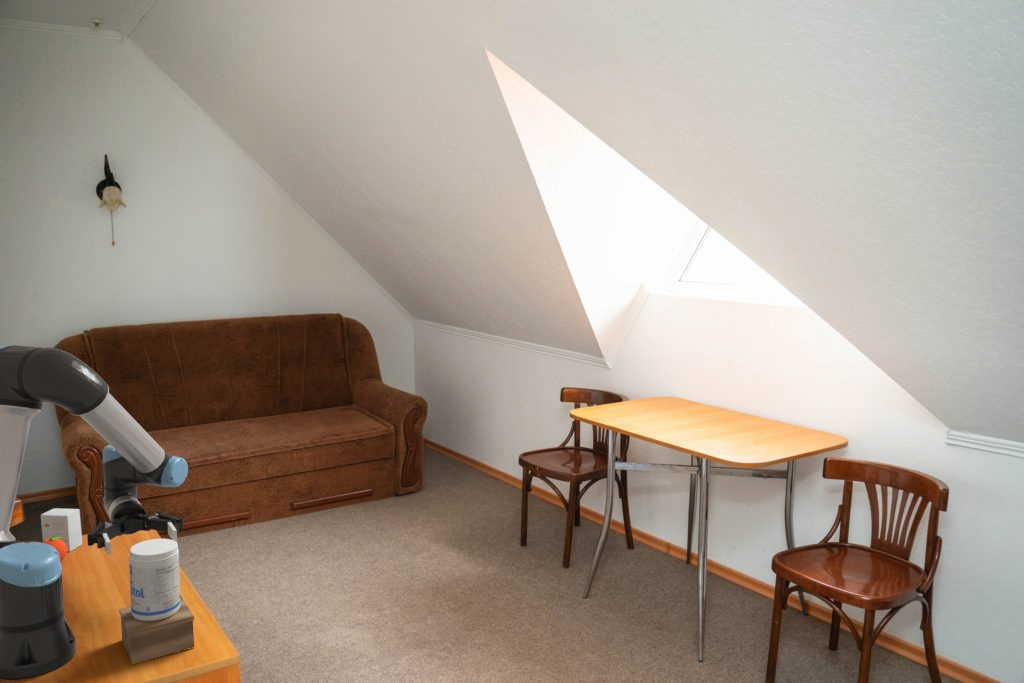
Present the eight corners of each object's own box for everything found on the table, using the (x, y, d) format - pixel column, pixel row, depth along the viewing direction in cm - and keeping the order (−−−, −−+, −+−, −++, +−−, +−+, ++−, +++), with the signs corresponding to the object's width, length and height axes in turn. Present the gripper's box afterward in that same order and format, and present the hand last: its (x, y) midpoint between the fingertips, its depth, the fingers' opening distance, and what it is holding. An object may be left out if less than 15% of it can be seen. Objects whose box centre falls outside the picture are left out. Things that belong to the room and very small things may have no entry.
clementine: (62, 555, 216) (61, 530, 215) (77, 560, 212) (75, 535, 211) (32, 565, 209) (30, 539, 208) (46, 571, 206) (45, 545, 205)
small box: (82, 544, 224) (80, 508, 222) (70, 552, 218) (67, 515, 217) (56, 543, 224) (53, 507, 223) (42, 551, 219) (40, 514, 218)
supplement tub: (121, 616, 166) (117, 549, 165) (160, 598, 175) (157, 534, 173) (152, 627, 162) (149, 558, 160) (191, 608, 170) (187, 542, 168)
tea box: (195, 647, 168) (193, 616, 167) (131, 665, 160) (129, 632, 160) (181, 624, 178) (180, 594, 177) (121, 640, 171) (119, 609, 170)
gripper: (182, 520, 201) (201, 547, 184) (70, 540, 188) (80, 570, 170) (180, 492, 201) (200, 515, 183) (68, 509, 187) (78, 536, 169)
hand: (142, 542), depth 177 cm, fingers open, 13 cm apart
